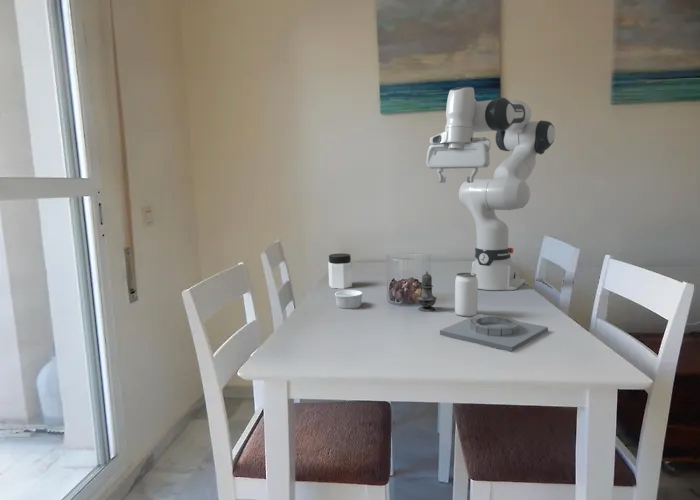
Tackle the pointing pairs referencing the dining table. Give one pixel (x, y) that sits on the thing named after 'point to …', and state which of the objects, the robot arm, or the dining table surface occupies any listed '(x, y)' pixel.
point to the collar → (494, 331)
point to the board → (500, 342)
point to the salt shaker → (427, 294)
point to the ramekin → (348, 299)
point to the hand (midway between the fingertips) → (455, 182)
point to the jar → (340, 271)
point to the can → (466, 294)
